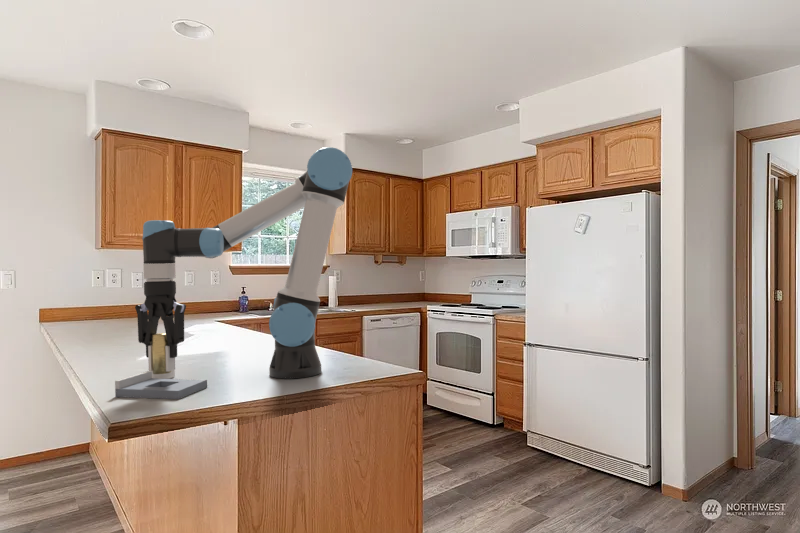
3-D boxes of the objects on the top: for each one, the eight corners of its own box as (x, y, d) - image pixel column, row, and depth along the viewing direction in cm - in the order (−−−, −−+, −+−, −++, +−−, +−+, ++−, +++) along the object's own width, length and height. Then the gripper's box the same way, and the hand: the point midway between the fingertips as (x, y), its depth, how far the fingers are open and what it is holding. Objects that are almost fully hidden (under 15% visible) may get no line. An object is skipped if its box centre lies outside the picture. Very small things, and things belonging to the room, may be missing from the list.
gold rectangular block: (175, 370, 134) (174, 332, 134) (164, 374, 130) (163, 335, 130) (160, 370, 135) (159, 332, 135) (148, 374, 131) (148, 335, 131)
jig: (207, 387, 136) (206, 372, 136) (178, 399, 125) (178, 382, 125) (148, 385, 140) (148, 371, 140) (115, 396, 128) (115, 380, 128)
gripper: (198, 279, 134) (200, 368, 134) (141, 280, 138) (143, 366, 138) (180, 280, 127) (182, 374, 127) (120, 281, 131) (122, 372, 131)
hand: (162, 370), depth 132 cm, fingers closed on gold rectangular block, 4 cm apart
